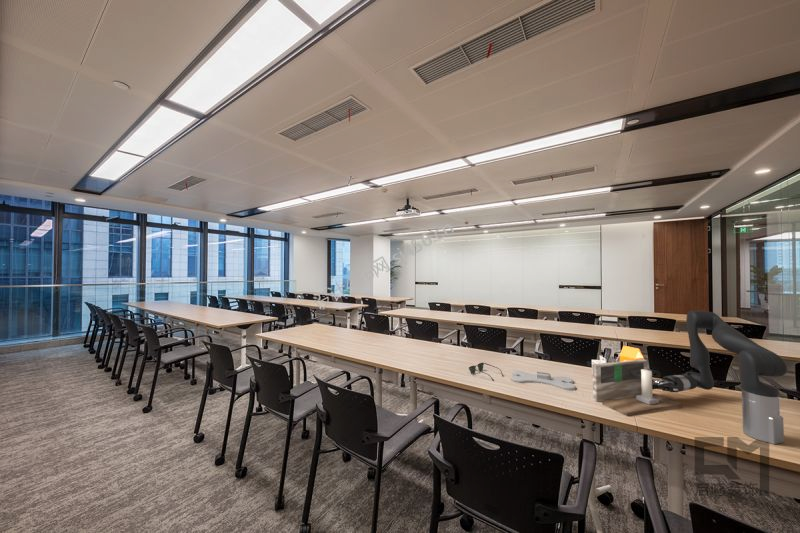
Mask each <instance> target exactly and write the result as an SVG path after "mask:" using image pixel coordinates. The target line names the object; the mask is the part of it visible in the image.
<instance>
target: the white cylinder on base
mask: <svg viewBox="0 0 800 533" xmlns="http://www.w3.org/2000/svg"><path fill="white" fill-rule="evenodd" d="M630 374H633V375H636V376H639V377H641V387H642V395H637V396H635V397H636V399H637V400H639V401H642V402H644V403H647V404H649V405H650V404H656V403H659V399H656V398H654V397H652V394H653V390H652V379H653V372H652V370H650V369H647V370H646V369H641V375H639V374H636V373H633V372H630Z"/></svg>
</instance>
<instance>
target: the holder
mask: <svg viewBox="0 0 800 533" xmlns="http://www.w3.org/2000/svg"><path fill="white" fill-rule="evenodd" d="M510 380H511V381H512V382H514V383H518V384H525V383H526V384H527V383H528V384H531V383H532V384H533V383H534V384H541V383H542V384H543V385H548V386H551V385H552V386H553V387H555V388H557V389H558V388H559V389H562V390H564V391H575V390H577V386H576V385H575V384H574V382H575V381H574V379H573V378H571V377H570V376H569V377H567V376H562V375H561V376H560V375H559V376H551V373H549V372H542V371H536V374H535V373H529V372H527V371H523V370H517V369H516V370H513V371H512V372H511V376H510Z"/></svg>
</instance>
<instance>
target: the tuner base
mask: <svg viewBox="0 0 800 533" xmlns="http://www.w3.org/2000/svg"><path fill="white" fill-rule="evenodd" d="M592 369H593V379H592V401H594V402H602V403H601V404H602V405H603V406H605V407H607V408H609V409H612V410H614V411H615V412H618V413H620V414H622V415H623V416H626V417H630V416H636V415H643V414H649V413H654V412H655V413H656V412H660V411H667V410H673V409H678V408H679V409H680V408H683V406H682V403H680V402H678V401H674V400H672V399H669V398H667V397H663V396H661V395H659V394H656V393H652V397H654V398H656V399H659V403H656V404H650V405H649V404H647V403H644V402H642V401H639V400H637V399H636V396H637V395H642V387H641V377H639V376H636V375H633V374H630V372H633V373H636V374H639V375H641V369H646V370H648V360H647V359H645V358H644V359H640V360H630V361H620V360H619V361H613V362H612V361H611V362H606V363H601V364H592V363H591V370H592Z"/></svg>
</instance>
